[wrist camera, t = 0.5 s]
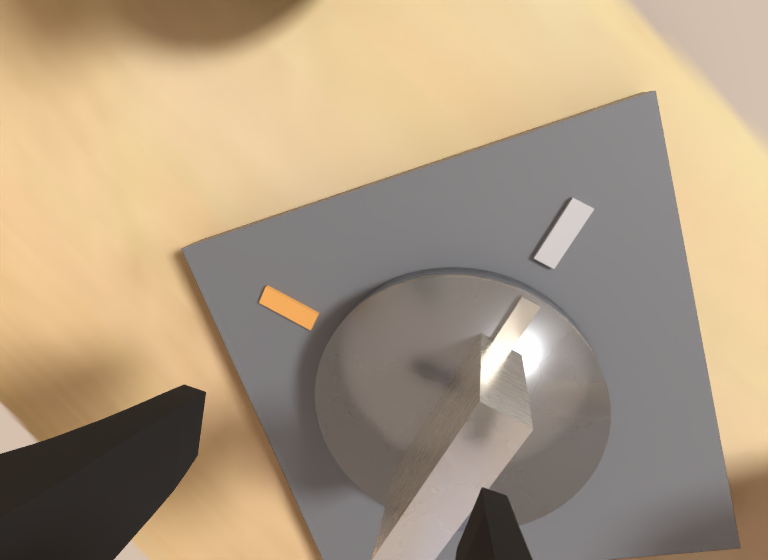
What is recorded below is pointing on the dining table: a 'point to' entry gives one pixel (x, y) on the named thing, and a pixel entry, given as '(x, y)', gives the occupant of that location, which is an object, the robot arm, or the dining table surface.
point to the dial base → (526, 264)
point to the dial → (460, 403)
